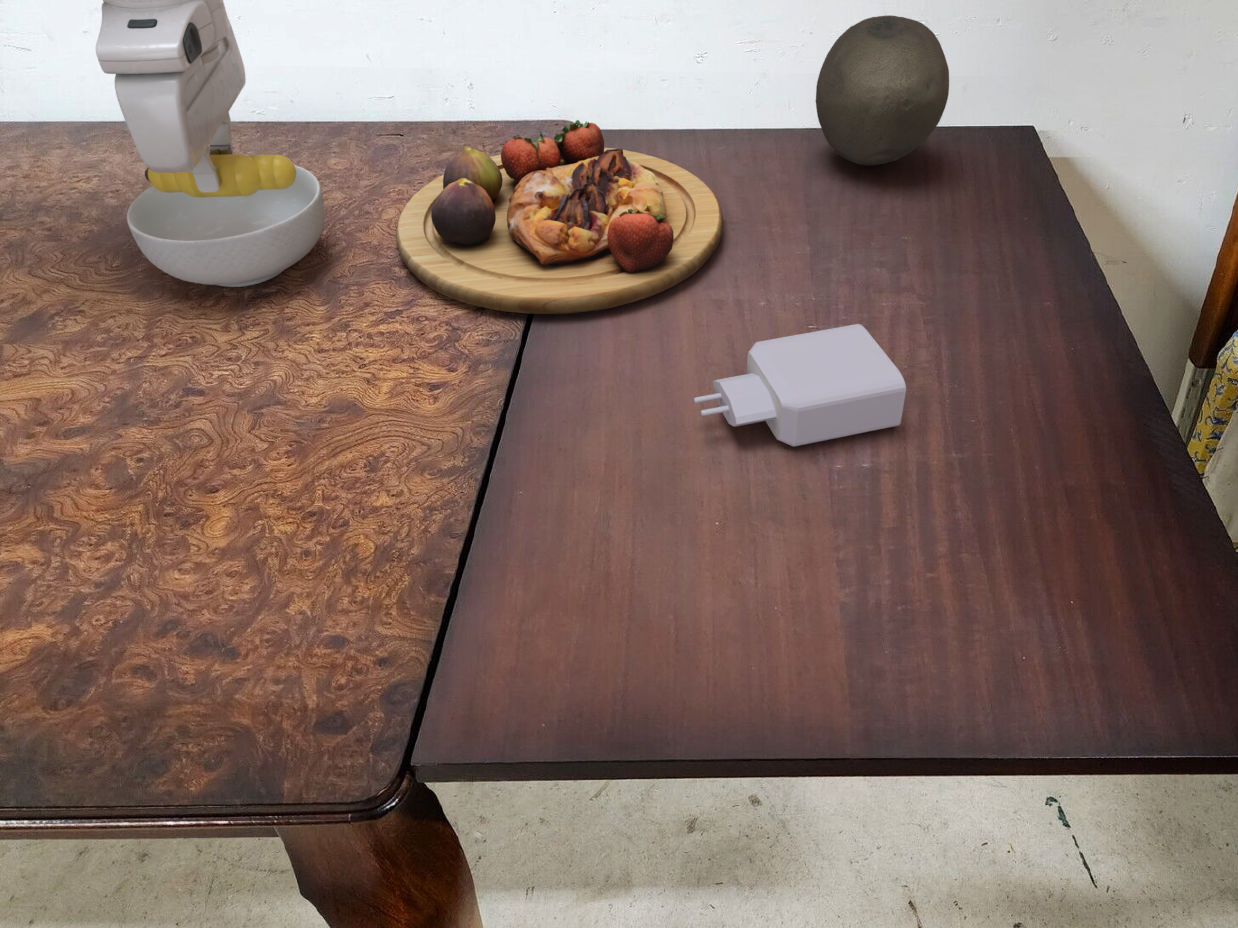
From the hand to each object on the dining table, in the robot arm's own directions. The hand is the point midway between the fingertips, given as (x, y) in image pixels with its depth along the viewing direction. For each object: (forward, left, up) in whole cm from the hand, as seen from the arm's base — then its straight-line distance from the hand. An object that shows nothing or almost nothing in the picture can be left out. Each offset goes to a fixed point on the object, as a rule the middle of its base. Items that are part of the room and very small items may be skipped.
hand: (218, 176), depth 97 cm
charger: (+48, -27, -9) cm, 56 cm away
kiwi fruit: (+64, +18, -9) cm, 67 cm away
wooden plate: (+30, +4, -9) cm, 32 cm away
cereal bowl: (0, 0, -9) cm, 9 cm away
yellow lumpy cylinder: (0, 0, -2) cm, 2 cm away
